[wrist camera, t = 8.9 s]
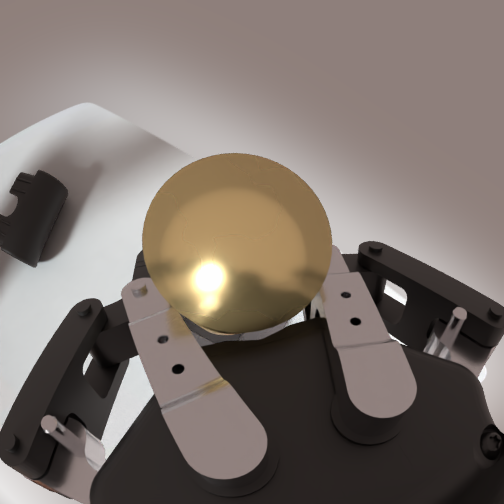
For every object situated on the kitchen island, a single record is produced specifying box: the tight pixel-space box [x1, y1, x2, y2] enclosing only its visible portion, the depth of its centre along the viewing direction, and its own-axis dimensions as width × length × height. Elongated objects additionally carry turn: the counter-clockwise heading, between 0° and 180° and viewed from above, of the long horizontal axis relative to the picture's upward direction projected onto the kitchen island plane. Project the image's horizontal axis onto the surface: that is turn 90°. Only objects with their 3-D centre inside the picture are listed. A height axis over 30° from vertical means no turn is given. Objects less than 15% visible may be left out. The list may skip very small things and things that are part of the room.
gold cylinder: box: [142, 153, 332, 335], centre depth 11 cm, size 4×4×11 cm
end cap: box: [0, 170, 68, 267], centre depth 24 cm, size 10×7×7 cm
